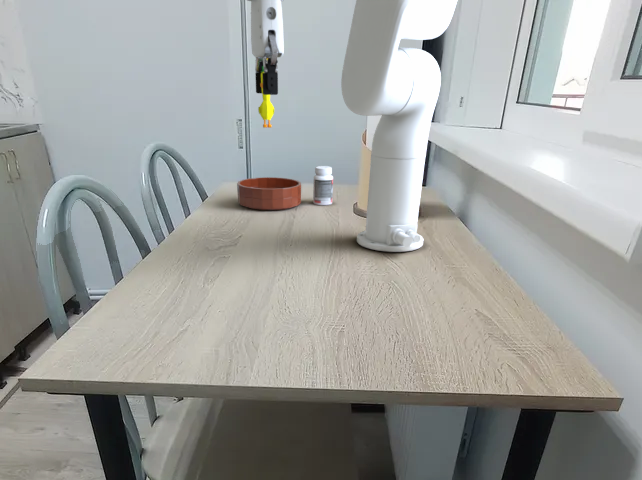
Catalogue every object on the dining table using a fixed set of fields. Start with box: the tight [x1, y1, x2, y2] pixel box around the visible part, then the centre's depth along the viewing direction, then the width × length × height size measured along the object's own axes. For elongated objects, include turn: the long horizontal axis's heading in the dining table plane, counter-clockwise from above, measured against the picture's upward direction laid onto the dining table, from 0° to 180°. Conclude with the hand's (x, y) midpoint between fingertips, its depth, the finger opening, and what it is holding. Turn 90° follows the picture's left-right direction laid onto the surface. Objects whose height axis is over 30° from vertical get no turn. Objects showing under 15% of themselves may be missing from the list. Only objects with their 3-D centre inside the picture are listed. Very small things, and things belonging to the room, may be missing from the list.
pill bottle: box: [312, 165, 334, 206], centre depth 128 cm, size 5×5×8 cm
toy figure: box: [257, 66, 275, 129], centre depth 116 cm, size 7×4×12 cm, turn 8°
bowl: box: [236, 176, 302, 211], centre depth 127 cm, size 15×15×5 cm
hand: (266, 93), depth 116 cm, fingers closed on toy figure, 5 cm apart
